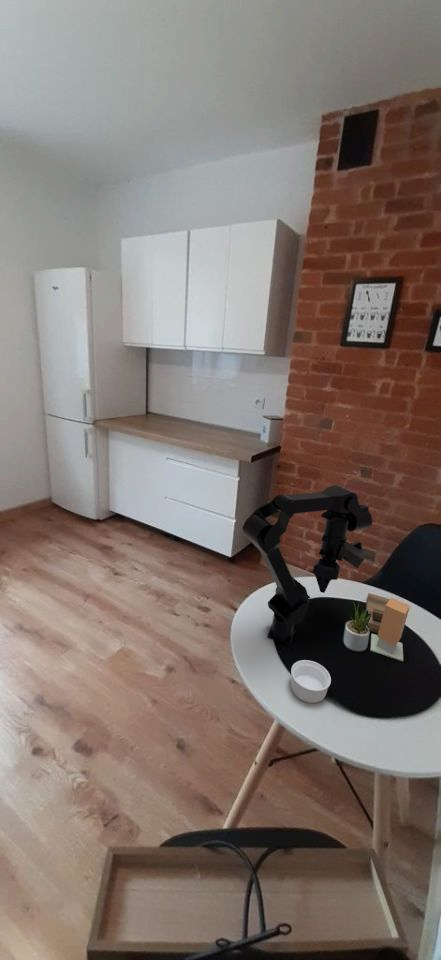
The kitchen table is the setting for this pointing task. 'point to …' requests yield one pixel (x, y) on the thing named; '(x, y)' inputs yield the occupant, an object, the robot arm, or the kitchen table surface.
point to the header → (375, 610)
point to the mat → (396, 653)
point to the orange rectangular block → (392, 624)
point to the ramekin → (309, 681)
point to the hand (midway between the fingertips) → (324, 583)
